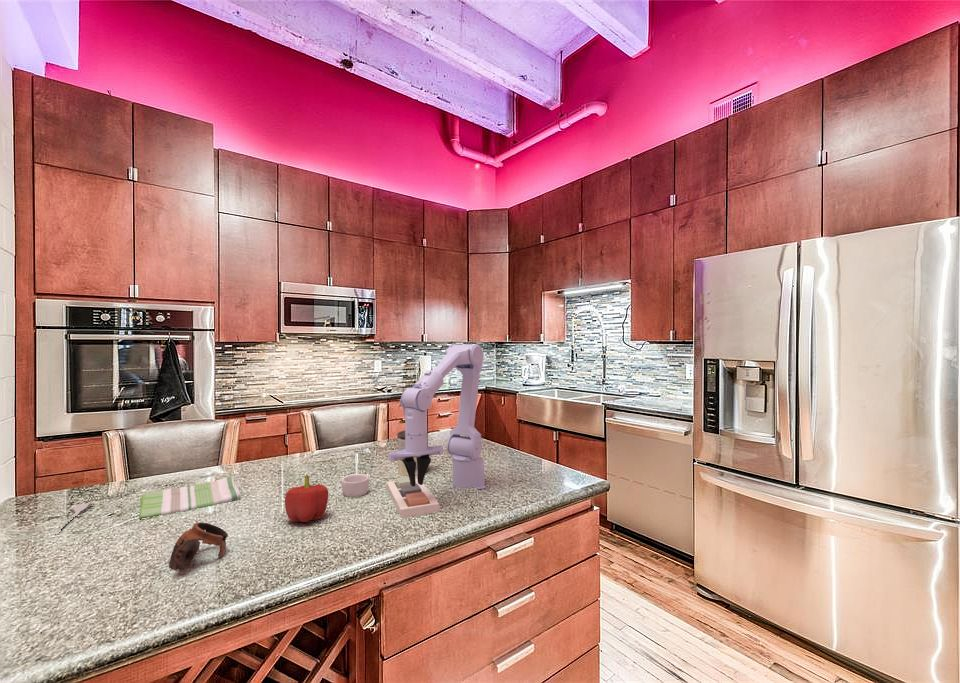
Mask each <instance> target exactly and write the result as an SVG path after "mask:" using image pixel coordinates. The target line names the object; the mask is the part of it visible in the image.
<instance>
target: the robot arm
mask: <svg viewBox="0 0 960 683" xmlns="http://www.w3.org/2000/svg"><path fill="white" fill-rule="evenodd" d="M448 346H449V347H448V348H446V349H445V355H444V357H443V358H442V359H441V361H440V362H439V363H438V365H436V367H435V368H434V369H433V370H432V369H430V370H426V371H424V374H423V375H422V376H421V377H420V379H419V380H418V381H416V382H415V383H414V384H413V386H411V387H407V388H406V389H405V390H404V391H403V392H402V393H401V397H400V399H399V403H400V407H401V408H402V410H403V411H402V413H403V415H404V431H405V449H403V450H399V451H398V450H396V451H392V452H390V451H389V452H388V453H387V454H388V461H389V462H390V463H391V462H392V463H393V462H395V461H398V460H402V461H403V463H404V465H405V467H406V469H407V472H408V475H409V476H408V477H409V479H410V484H411V485H412V486H415V483H416V481H415V478H417V479H418V484H420V485H423V483H424V480H425V476H426V474H427V473H426V470H427V468H428V469H429V466H430V464H431V462H432V458H431V457H430V456H435V455H438V456H441V455H444V447H443V446H441V445H436V446H435V445H433V446H428V447H427V432H428V422H427V421H428V409H430V407H431V405H432V402H433V399H434V398H435V395H436V393H437V392H438V391H439V390H440V388H441V387H442V386H443V385H444V378H445V377H447V375H448V374H450V373H451V372H452V371H453V370H454V369H456V370H457V371H459V372H460V373H461V375H462V378H461V379H462V380H461V386H460V387H461V388H460V397H459V404H458V405H459V406H458V407H459V408H458V415H457V425H456V426H455V427H453V428H452V429H451V430H450V431H449V436H448V439H447V442H446V451H447V454H449V455H450V459H452V486H453V487H455V488H459V489H468V488H469V489H470V488H473V487H474V488H475V489H476V490H482V489H483V490H484V489H486V486H485V463H484V460H483V458H482V457H481V456H480V455H481V453H482V451H483V450H482V449H483V446H482V433H480V432H479V431H478V430H477V428H476V427H475V422H476V414H477V413H476V412H477V402H478V394H479V393H478V392H479V391H478V390H479V385H480V384H479V383H480V373H481V372H482V371H483V364H484V363H483V361H484V360H483V359H484V351H483V349H482V347H481V346H480V344H478V343H474V344H456V343H451V344H450V345H448ZM413 458H417V467H418V476H417V477H416V476H415V470H416V462H415V461H414V459H413ZM425 473H426V474H425Z"/></svg>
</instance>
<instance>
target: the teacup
mask: <svg viewBox="0 0 960 683" xmlns="http://www.w3.org/2000/svg"><path fill="white" fill-rule="evenodd" d="M340 483H341V490H342V495H343V496H344V497H347V498H358V497H362V496H365V495H366V494H367V492H368V491H369V485H370V477H369V475H367V474H363V473H353V474H348V475H346V476H343V477H342V478H341V482H340Z"/></svg>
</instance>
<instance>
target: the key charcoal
mask: <svg viewBox="0 0 960 683" xmlns="http://www.w3.org/2000/svg"><path fill="white" fill-rule="evenodd" d="M419 492H421V488H420V487H419V485H418V484H415V486H412V485H403V486H401V496H402V497H406V494H412V493H419Z"/></svg>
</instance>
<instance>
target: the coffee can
mask: <svg viewBox="0 0 960 683" xmlns="http://www.w3.org/2000/svg"><path fill="white" fill-rule="evenodd" d="M396 436H397V451H399V450H403V449H405V430H401V431H399V432H397V434H396ZM428 436H429V431H427V447H429V437H428ZM413 459H414V461H415V462H416V470H415V477H418V467H417V458H413ZM428 472H429V467H428V468H427V470H426V473H425V475H427V473H428ZM397 473H398V474H399V475H400V476H402V477H409V475H408V472H407V469H406V467H405V465H404V463H403V461H402V460H397Z"/></svg>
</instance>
